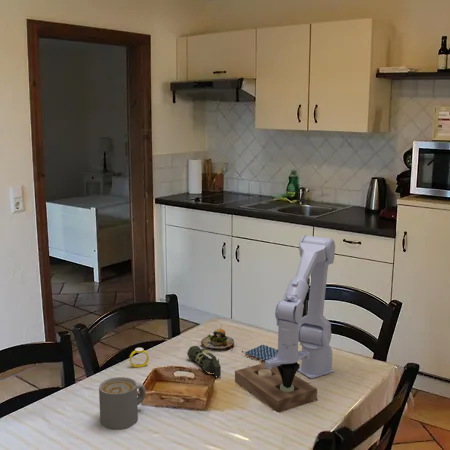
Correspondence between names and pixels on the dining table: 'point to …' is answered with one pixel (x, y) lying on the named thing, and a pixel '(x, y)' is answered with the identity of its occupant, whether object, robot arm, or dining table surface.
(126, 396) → the coffee mug
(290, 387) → the sage peg
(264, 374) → the maple peg
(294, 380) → the walnut block
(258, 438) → the dining table surface
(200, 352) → the dark green rolled bundle
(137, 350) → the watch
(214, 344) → the burger
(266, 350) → the woven mat
